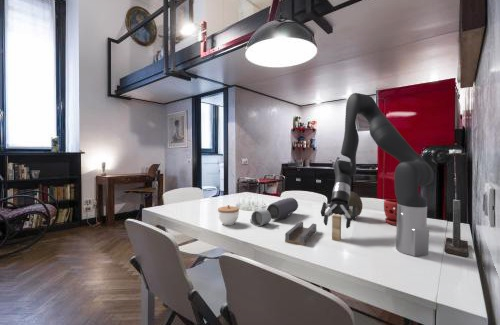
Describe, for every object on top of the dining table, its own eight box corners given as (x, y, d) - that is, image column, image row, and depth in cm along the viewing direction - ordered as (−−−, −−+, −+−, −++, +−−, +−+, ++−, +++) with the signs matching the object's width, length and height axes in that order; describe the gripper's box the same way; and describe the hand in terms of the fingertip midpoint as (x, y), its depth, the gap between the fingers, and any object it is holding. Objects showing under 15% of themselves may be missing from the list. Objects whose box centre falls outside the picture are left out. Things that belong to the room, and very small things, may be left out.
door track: (299, 228, 118) (299, 221, 118) (316, 231, 114) (316, 224, 114) (285, 241, 100) (285, 233, 100) (304, 245, 96) (304, 236, 96)
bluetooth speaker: (284, 212, 152) (285, 196, 152) (298, 214, 147) (299, 197, 146) (265, 220, 133) (265, 201, 133) (280, 223, 128) (281, 203, 128)
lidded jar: (229, 227, 119) (229, 208, 119) (213, 223, 126) (213, 205, 125) (243, 222, 128) (243, 204, 127) (227, 219, 134) (227, 202, 134)
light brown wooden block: (333, 237, 106) (333, 214, 106) (340, 238, 105) (341, 215, 104) (331, 239, 103) (332, 216, 103) (339, 241, 101) (339, 217, 101)
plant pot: (417, 228, 120) (418, 203, 119) (388, 226, 122) (388, 202, 122) (406, 221, 132) (407, 199, 132) (380, 219, 135) (380, 198, 135)
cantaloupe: (357, 215, 145) (358, 189, 145) (365, 221, 131) (366, 193, 131) (333, 214, 147) (333, 189, 147) (337, 220, 133) (338, 192, 133)
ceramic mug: (272, 224, 126) (272, 209, 126) (262, 227, 119) (262, 211, 119) (256, 220, 133) (256, 206, 132) (246, 224, 126) (246, 209, 126)
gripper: (323, 188, 114) (317, 218, 104) (357, 190, 107) (354, 223, 97) (326, 198, 119) (320, 227, 109) (358, 201, 112) (355, 233, 102)
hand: (336, 225), depth 103 cm, fingers open, 8 cm apart
